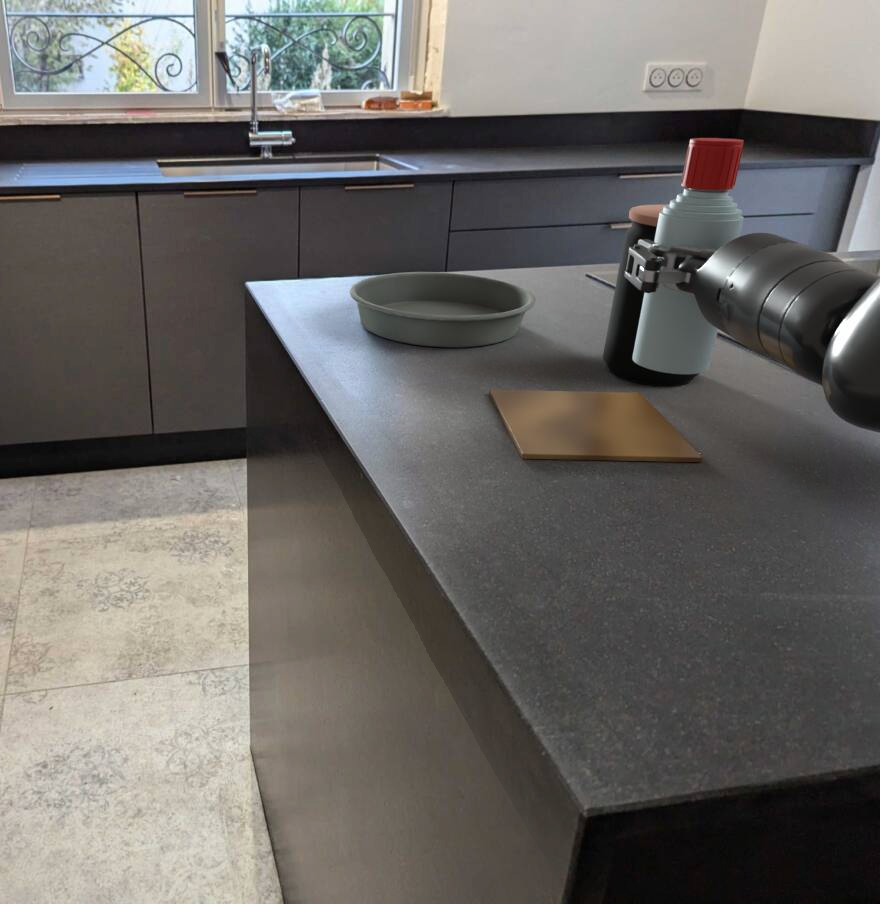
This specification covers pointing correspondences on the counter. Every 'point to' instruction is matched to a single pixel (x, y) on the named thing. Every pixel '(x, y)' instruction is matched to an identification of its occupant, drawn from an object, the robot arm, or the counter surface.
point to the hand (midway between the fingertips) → (680, 251)
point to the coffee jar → (633, 310)
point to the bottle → (677, 313)
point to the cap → (712, 163)
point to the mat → (589, 426)
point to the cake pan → (441, 308)
